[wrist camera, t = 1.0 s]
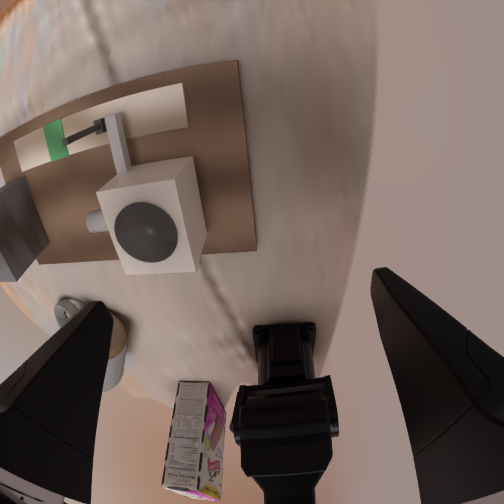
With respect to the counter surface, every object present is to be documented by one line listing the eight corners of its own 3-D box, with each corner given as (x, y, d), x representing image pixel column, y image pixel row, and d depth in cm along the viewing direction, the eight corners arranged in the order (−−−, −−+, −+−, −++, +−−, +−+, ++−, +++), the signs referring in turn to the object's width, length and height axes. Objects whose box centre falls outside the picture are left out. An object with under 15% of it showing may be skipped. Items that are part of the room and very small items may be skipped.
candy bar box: (228, 411, 42) (222, 501, 28) (199, 411, 42) (189, 498, 29) (211, 380, 36) (198, 493, 22) (177, 379, 36) (158, 487, 23)
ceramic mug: (137, 317, 29) (114, 375, 22) (130, 353, 33) (113, 403, 27) (57, 281, 27) (24, 329, 20) (62, 322, 31) (37, 366, 25)
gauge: (207, 233, 21) (195, 273, 17) (114, 241, 22) (90, 277, 18) (183, 97, 15) (159, 104, 12) (80, 124, 16) (41, 142, 12)
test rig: (256, 243, 23) (255, 306, 17) (43, 259, 25) (10, 302, 19) (238, 61, 15) (226, 50, 9) (0, 138, 17) (-51, 166, 11)
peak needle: (109, 130, 16) (70, 149, 12) (101, 132, 16) (63, 151, 12) (106, 116, 15) (66, 131, 11) (99, 118, 15) (59, 135, 11)
